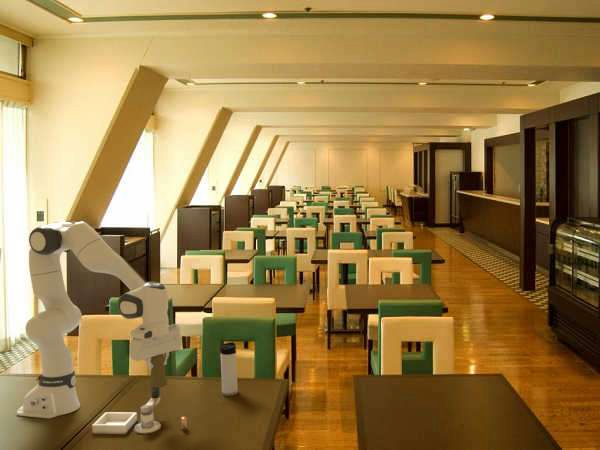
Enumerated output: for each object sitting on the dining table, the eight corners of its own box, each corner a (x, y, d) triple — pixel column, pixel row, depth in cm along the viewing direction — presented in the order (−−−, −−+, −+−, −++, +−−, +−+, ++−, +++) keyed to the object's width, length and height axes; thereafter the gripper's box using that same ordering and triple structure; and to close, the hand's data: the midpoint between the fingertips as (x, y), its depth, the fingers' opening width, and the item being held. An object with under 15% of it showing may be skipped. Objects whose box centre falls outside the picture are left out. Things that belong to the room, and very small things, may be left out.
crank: (150, 414, 219) (149, 395, 219) (139, 414, 220) (138, 395, 219) (162, 400, 233) (161, 382, 232) (151, 400, 233) (151, 382, 232)
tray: (92, 433, 219) (92, 425, 219) (106, 420, 230) (105, 412, 230) (125, 433, 218) (124, 425, 217) (137, 420, 229) (136, 412, 229)
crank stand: (130, 433, 218) (129, 418, 217) (139, 423, 227) (138, 408, 226) (183, 434, 216) (182, 418, 216) (190, 423, 225) (189, 408, 224)
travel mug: (241, 391, 256) (239, 342, 254) (232, 396, 250) (230, 347, 248) (227, 389, 259) (225, 341, 257) (219, 394, 253) (216, 345, 251)
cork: (162, 388, 222) (161, 357, 221) (146, 387, 223) (145, 356, 222) (169, 382, 228) (169, 352, 227) (154, 381, 229) (153, 351, 228)
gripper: (173, 321, 234) (174, 358, 235) (126, 333, 218) (127, 372, 219) (184, 324, 230) (185, 361, 231) (137, 336, 214) (139, 376, 215)
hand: (157, 366), depth 225 cm, fingers closed on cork, 4 cm apart
